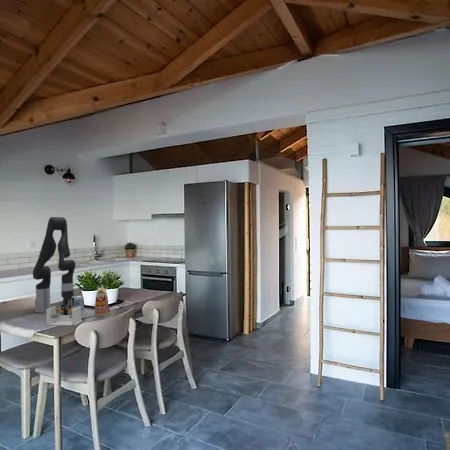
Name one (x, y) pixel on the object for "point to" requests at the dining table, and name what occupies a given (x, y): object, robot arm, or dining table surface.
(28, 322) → the dining table surface
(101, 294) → the milk carton
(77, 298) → the light bulb box
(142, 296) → the dining table surface
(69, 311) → the shelf board
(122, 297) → the dining table surface
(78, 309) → the peg frame
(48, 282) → the robot arm
